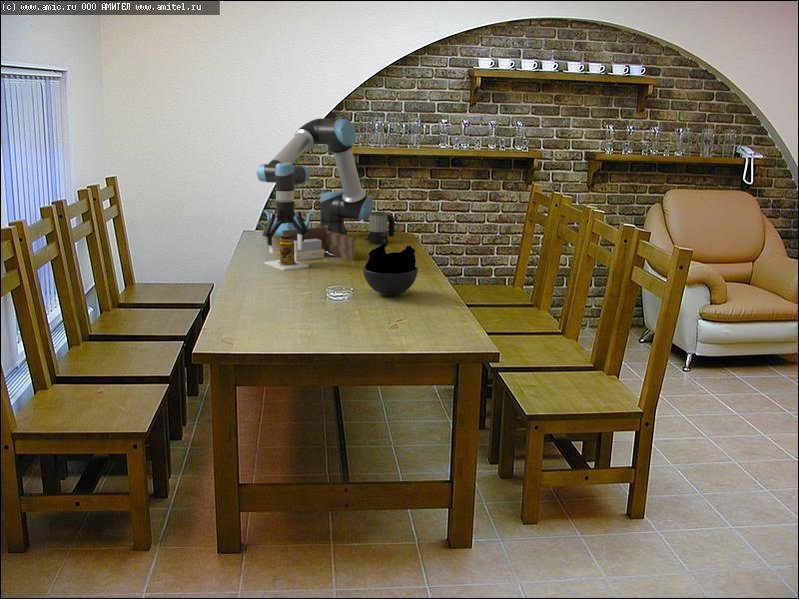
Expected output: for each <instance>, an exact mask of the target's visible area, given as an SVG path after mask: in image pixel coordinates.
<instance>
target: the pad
mask: <svg viewBox="0 0 799 599" xmlns="http://www.w3.org/2000/svg"><path fill="white" fill-rule="evenodd" d="M278 261H280V259H277V260H270V261H264V265H266V264H267V266H269V265H270V266H269V267H272V268H274V269H275V268H276V269H278V270H281V271H290V270H297V269H298V270H299V269H304V268H309V267H310V266H309V264H305V263H303V262H301V261H296V260H295V262H296V263H297V264H296V265H280V264H279V263H278Z"/></svg>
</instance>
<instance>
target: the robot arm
mask: <svg viewBox="0 0 799 599" xmlns="http://www.w3.org/2000/svg"><path fill="white" fill-rule="evenodd" d="M356 132H357V131H356V128H355V126H354V123H352V122H351V121H350V120H348V119H343V118H337V119H335V118H315V119H312V120H310V121H308V122H306V123H305V124H303V125H302V126H301V127H299V128H298V129H297V130H296V131H295V133H294V135H293V138H291V140H289V142H287V143H286V145H285V146H284V147H283V148H282V149H281V150H280V151H278V153H277V154H276V155H275V156H274V157H273V158H272V159H271V160H270V161H269V162H268V163H267V164H266V163H262V164H259V165H258V166H257V169H256V176H257V180H259V182H263V183H275V200H276V202H275V208H276V213H270V212H269V213H270V216H269V221H268V220H267V224H265V225H266V226H265V228H264V230H263V233H262V236H263V237H266V238H267V245H268V247H269V252H268V253H270V254H275V237H273V236H274V235H275V232H276V231H277V229H278V228H279V226H280V225H281V224H282V223H283V224H285V223H291V224H292V225H293V226H294V227H295V229H296V230H297V231H298V232H299V233H300V234H297V238H298V250H302V242H304V235H305V233H307V232H308V230H307V227H306V225H305V223H304V222H305V221H304V219H303V217H302V212H301V211H299V210H296V211H295V209H296V208H295V201H294V200H295V186H296V185H302V184H305V183H307V182H308V181H309V180H310V178H311V176H310V175H311V174H310V172H311V171H310V170H309V168H308V167H306V166H305V165H299V164H298V165H294V163H295V162H296V160H298V159H299V158H300V156H302V154H303V153H304V152H305V151H306V150H307V149H310V148H312V147H313V146H316V145H326V146H327V149H328V150H329V151H328V152H330V153H331V154H332V155H333V158H334V161H335V165H336V169H337V172H338V176H339V179H340V184H341V187H342V190H336V191H330V192H329V191H328V192H324V193H321V194H320V197H319V198H320V199H319V200H320V201H319V207H320V209H319V212H320V213H319V214H320V216H319V217H320V220H319V221H320V222H319V225H318V227H323V226H325V227H326V231H330V232H334V233H338V234H342V235H346V236H349V235H348V231H347V228H346V225H345V219H348V220H358V221H366V220H368V219H370V214H369V213H371V212H373V208H374V199H373V197H372V196H371V195H367V192H366V190H365V189H364V188H363V187H362V185H361V182H360V181H361V180H360V178H359V174H358V170H357V165H356V162H355V157H354V154H353V151H352V148H353V147H354V145H355V142H356V137H357V136H356ZM294 216H296V218H297V220H298V222H299V224H300V226H301V228H302V229H301V228H300V226H299V225H298V224H297V223H296V221H295V220H294ZM276 218H277V220H276ZM275 220H276V221H275ZM274 222H275V224H274V225H273V223H274ZM272 225H273V227H272Z"/></svg>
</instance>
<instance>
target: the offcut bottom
mask: <svg viewBox="0 0 799 599" xmlns="http://www.w3.org/2000/svg"><path fill="white" fill-rule="evenodd" d="M294 258H295V261H297V260H298V261H306V260H312V259H314V260H315V259H323V258H324V259H325V253H324V249H321V250H311V251H301V252H295V251H294ZM298 261H297V262H298Z"/></svg>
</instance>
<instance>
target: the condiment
mask: <svg viewBox="0 0 799 599" xmlns="http://www.w3.org/2000/svg"><path fill="white" fill-rule="evenodd" d="M279 260H280V261H278V263H279V264H280V265H296V264H297V263H296V262H295V261H296V260H295V258H294V242H293V236H292V235H282V236H281V240H280V242H279Z"/></svg>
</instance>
